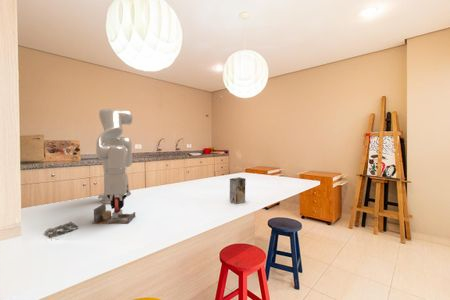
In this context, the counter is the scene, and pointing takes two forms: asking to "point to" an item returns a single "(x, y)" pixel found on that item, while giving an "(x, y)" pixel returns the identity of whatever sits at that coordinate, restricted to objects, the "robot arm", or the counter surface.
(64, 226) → the egg carton
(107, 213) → the tan wooden knob
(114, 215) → the handle
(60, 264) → the counter surface
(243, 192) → the coffee box
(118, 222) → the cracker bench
